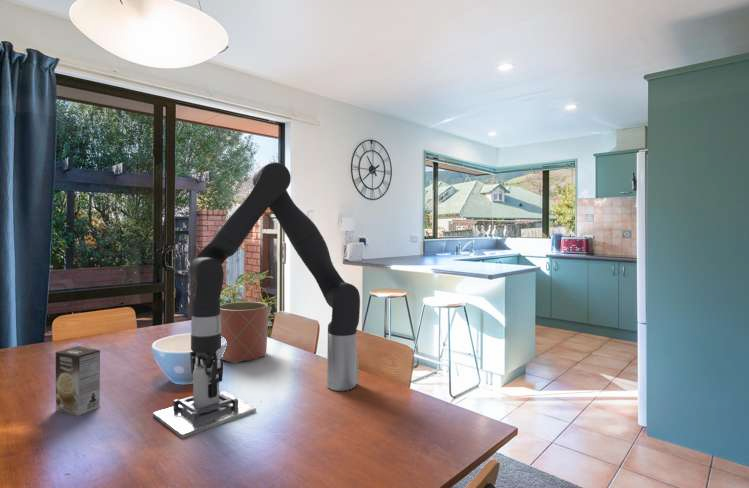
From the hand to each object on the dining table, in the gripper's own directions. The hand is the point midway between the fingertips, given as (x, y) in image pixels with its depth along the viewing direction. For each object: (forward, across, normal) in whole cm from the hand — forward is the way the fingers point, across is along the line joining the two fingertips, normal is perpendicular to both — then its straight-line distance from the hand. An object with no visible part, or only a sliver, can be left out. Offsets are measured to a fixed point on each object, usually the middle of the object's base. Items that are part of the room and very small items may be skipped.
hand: (206, 393), depth 110 cm
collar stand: (+5, 0, 0) cm, 5 cm away
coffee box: (+6, +28, +22) cm, 36 cm away
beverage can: (+4, 0, 0) cm, 4 cm away
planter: (+6, +38, -34) cm, 51 cm away
